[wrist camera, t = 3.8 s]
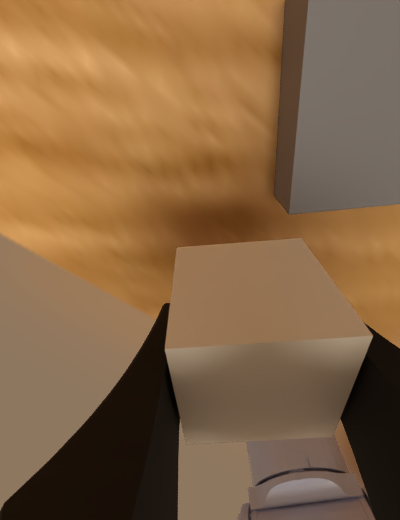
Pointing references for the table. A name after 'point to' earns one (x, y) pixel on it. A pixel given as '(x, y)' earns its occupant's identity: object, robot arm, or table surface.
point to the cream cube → (260, 343)
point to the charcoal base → (339, 106)
